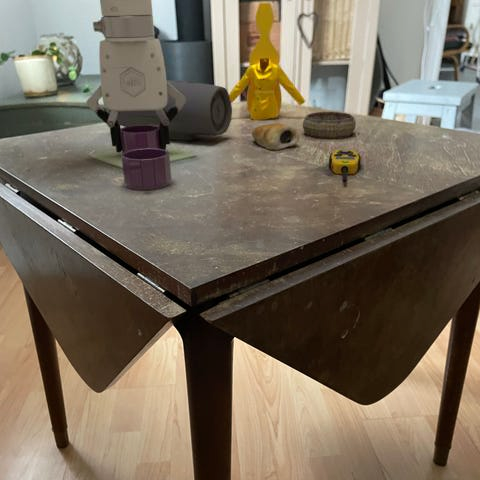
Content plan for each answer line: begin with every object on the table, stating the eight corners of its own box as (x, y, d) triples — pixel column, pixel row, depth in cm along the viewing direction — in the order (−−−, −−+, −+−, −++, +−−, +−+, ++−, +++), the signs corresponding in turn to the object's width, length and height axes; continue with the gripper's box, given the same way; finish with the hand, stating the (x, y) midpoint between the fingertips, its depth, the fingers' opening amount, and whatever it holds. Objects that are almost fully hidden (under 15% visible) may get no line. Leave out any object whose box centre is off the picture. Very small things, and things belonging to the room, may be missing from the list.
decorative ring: (335, 141, 98) (365, 132, 105) (336, 123, 97) (366, 115, 103) (291, 134, 105) (322, 126, 111) (292, 116, 103) (323, 109, 109)
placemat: (130, 171, 84) (129, 169, 83) (89, 156, 92) (88, 154, 92) (196, 156, 91) (196, 154, 91) (152, 143, 99) (152, 142, 99)
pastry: (242, 141, 100) (242, 120, 98) (272, 137, 103) (272, 116, 101) (272, 151, 93) (273, 128, 91) (303, 146, 96) (304, 124, 94)
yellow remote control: (360, 147, 87) (363, 173, 74) (359, 159, 88) (361, 187, 75) (330, 147, 87) (327, 172, 75) (329, 159, 88) (326, 186, 76)
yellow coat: (223, 121, 117) (219, 3, 105) (225, 114, 123) (221, 3, 112) (305, 120, 116) (310, 1, 105) (302, 113, 123) (307, 1, 112)
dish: (136, 161, 87) (133, 135, 85) (115, 154, 92) (111, 129, 89) (169, 154, 91) (167, 128, 89) (147, 148, 95) (145, 123, 93)
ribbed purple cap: (141, 193, 74) (138, 162, 72) (116, 183, 78) (112, 153, 76) (180, 183, 78) (178, 153, 76) (154, 174, 82) (151, 146, 80)
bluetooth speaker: (234, 137, 103) (233, 80, 98) (209, 147, 96) (207, 86, 91) (138, 127, 113) (132, 74, 107) (109, 136, 105) (102, 80, 100)
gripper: (65, 32, 78) (86, 157, 87) (186, 29, 79) (193, 153, 88) (75, 29, 85) (93, 146, 94) (186, 27, 85) (193, 143, 95)
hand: (141, 148), depth 91 cm, fingers closed on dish, 6 cm apart
